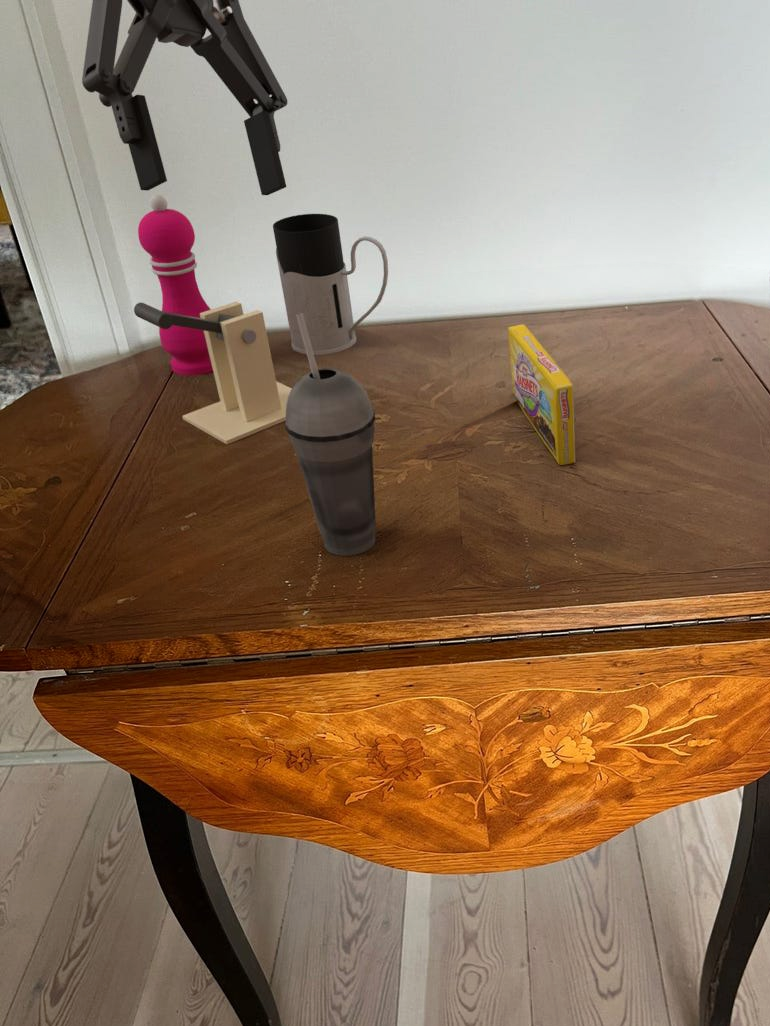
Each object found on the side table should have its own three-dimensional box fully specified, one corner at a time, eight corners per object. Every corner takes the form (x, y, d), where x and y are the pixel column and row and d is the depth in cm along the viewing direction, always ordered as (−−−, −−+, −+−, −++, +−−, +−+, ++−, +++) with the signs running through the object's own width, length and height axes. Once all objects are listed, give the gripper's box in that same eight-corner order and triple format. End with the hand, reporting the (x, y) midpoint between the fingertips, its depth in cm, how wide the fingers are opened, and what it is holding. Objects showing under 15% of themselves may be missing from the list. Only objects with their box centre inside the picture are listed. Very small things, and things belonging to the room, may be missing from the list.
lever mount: (228, 452, 98) (201, 340, 91) (184, 426, 103) (156, 319, 96) (322, 413, 104) (304, 305, 97) (276, 391, 110) (256, 287, 102)
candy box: (510, 399, 104) (507, 325, 99) (528, 396, 105) (527, 322, 100) (555, 467, 92) (555, 386, 87) (576, 463, 92) (577, 382, 87)
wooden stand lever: (157, 333, 89) (160, 307, 89) (132, 321, 92) (135, 296, 92) (257, 349, 98) (261, 325, 97) (231, 337, 101) (235, 314, 100)
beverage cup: (369, 570, 80) (334, 337, 67) (293, 557, 82) (245, 329, 69) (404, 526, 85) (378, 302, 72) (332, 515, 87) (294, 295, 75)
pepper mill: (239, 372, 114) (200, 194, 102) (182, 389, 111) (134, 207, 99) (216, 354, 119) (176, 182, 107) (161, 370, 116) (113, 195, 104)
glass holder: (310, 333, 123) (290, 210, 114) (411, 342, 119) (398, 215, 110) (277, 359, 117) (252, 231, 108) (382, 369, 113) (366, 237, 103)
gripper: (32, -152, 67) (120, 168, 73) (287, -69, 86) (343, 181, 92) (-18, -102, 72) (69, 196, 77) (235, -33, 91) (290, 203, 96)
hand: (217, 189), depth 85 cm, fingers open, 13 cm apart
